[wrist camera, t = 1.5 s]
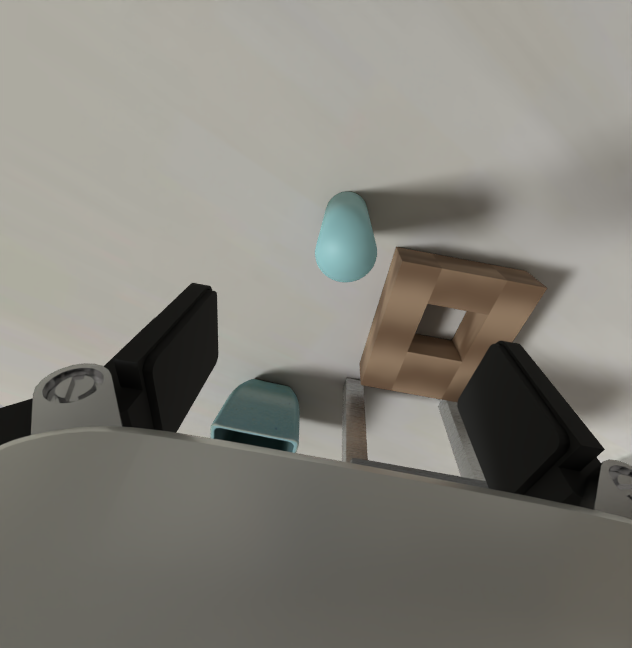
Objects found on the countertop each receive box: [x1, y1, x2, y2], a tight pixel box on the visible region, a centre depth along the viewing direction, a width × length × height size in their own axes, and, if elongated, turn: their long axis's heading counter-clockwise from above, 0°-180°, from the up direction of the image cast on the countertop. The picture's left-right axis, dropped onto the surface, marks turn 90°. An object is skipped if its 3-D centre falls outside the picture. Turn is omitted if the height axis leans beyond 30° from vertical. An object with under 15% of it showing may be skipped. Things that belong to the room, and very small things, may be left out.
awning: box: [342, 378, 489, 489], centre depth 30 cm, size 6×15×14 cm, turn 81°
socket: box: [360, 247, 547, 402], centre depth 30 cm, size 14×12×4 cm
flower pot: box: [210, 379, 300, 453], centre depth 35 cm, size 9×9×9 cm
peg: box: [315, 192, 377, 282], centre depth 22 cm, size 4×4×10 cm
